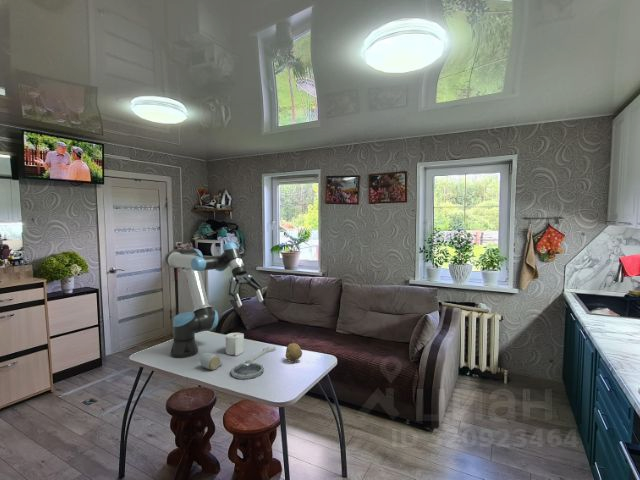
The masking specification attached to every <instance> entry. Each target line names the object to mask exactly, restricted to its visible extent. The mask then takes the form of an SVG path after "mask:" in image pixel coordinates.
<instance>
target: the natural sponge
mask: <svg viewBox="0 0 640 480" xmlns="http://www.w3.org/2000/svg"><path fill="white" fill-rule="evenodd" d="M302 357H303V350H302V349H301V346H300V345H299V344H297V343H296V342H293V343H292V342H291V343H289V344H288V345H287V346H286V349H285V359H286V360H288V361H290V362H295V361H297V360H299V359H300V358H302Z"/></svg>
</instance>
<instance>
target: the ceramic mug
mask: <svg viewBox="0 0 640 480" xmlns="http://www.w3.org/2000/svg"><path fill="white" fill-rule="evenodd" d="M220 359H221V358H220V357H219V356H217V355H216V354H214V353H211V352H209V351H208V352H205V353H203V355H202V356H201V358H200V360H199V363H200V366H201V367H202V368H205V369H207V370H211V371H212V370H213V371H214V370H216V369H218V368H219V366H223V361H221V360H220Z"/></svg>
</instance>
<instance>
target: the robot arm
mask: <svg viewBox="0 0 640 480" xmlns="http://www.w3.org/2000/svg"><path fill="white" fill-rule="evenodd" d="M222 250H223V252H222V253H221V254H220V255H212V256H211V255H210V256H203V253H202V251H201V250H199V249H198V248H192V247H191V248H181V249H180V248H179V249H178V248H177V249H172V250H169V251H168V252H167V253H166V254H165V256H164V263H165V265H166V266H168V267H170V268H174V269H175V268H181V269H182V272H184V273H185V275H186V279H187V281H188V282H187V283H188V286H189V287H188V288H189V291H190V295H191V299H192V303H193V307H194V309H193V311H187V312H186V311H185V312H181V313H178V314H176V315H175V316H174V317H173V320H172V322H173V323H172V326H173V327H172V329H173V330H172V334H173V343H172V345H171V348H170V353H169V354H170V357H172V358H176V359H184V358H190V357H194V356H195V355H196V354H198V352H199V346H198V344H197V342H196V337H195V334H197V333H203V332H206V331H211V330H212V329H215V328H216V327H217V326H218V323H219V314H218V311H217V310H216V309H213V306H212V305H210V304H209V300H208V297H207V293H206V289H205V285H204V281H203V277H202V274H201V273H202V271H209V270H215V271H217V272H224V271H225V270H226V269H228V268H229V270H230V271H231V273H232V276H231V277H230V278H229V279H228V280H229V287H228V288H229V289H228V296H231V297H233V299H234V302H235V303H236V304H237V307H238V308H241V307H242V306H243V303H242V300H241V298H240V296H239V293H238V289H239V287H240V285H248V286H250V287H251V288H253V290H255V293H256V296H257V299H258V301H259V303H262V302H263V301H264V298H263V293H262V290H261V289H262V288H263V285H262V284H261V283H260V282H259V281H258V280H257V278H255V277H254V275H253V274H254V273H250V274H247V269H246V267H245V264H244V262H243V259H242V256H241V253H240V251H239V248H238V246H237V244H236V243H235V242H232V241H230V242H227V243H225V244H223V246H222ZM235 282H236V283H235ZM234 285H235V286H234Z"/></svg>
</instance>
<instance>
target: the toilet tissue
mask: <svg viewBox="0 0 640 480" xmlns="http://www.w3.org/2000/svg"><path fill="white" fill-rule="evenodd" d="M244 339H245V335H244V333H242V332H231V333H227V334H226V335H225V354H227V355H231V356H235V357H236V356H239V355H241V354H242V353H244V352H245V340H244Z"/></svg>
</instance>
